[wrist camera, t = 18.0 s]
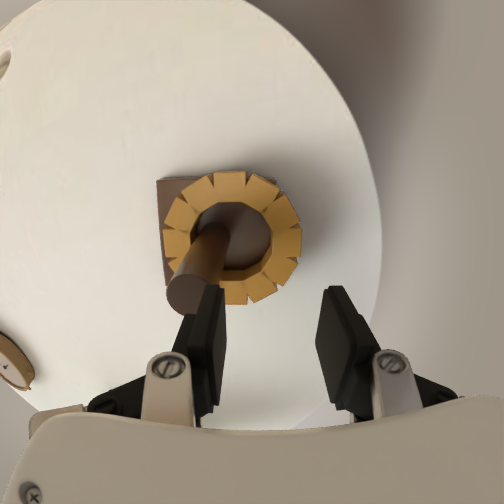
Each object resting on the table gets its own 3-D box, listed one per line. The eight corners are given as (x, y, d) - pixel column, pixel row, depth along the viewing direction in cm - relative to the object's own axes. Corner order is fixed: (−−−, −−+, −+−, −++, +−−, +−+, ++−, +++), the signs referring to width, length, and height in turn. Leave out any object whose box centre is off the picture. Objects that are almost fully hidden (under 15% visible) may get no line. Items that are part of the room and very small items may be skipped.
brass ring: (298, 171, 19) (303, 172, 17) (294, 292, 22) (297, 304, 20) (167, 173, 19) (158, 175, 17) (177, 291, 22) (171, 303, 20)
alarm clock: (28, 399, 30) (-31, 354, 24) (35, 380, 35) (-21, 337, 29) (31, 377, 27) (-37, 322, 21) (41, 355, 31) (-23, 304, 25)
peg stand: (274, 177, 20) (293, 202, 11) (270, 283, 24) (279, 367, 14) (160, 178, 20) (93, 205, 11) (169, 280, 24) (126, 356, 14)
